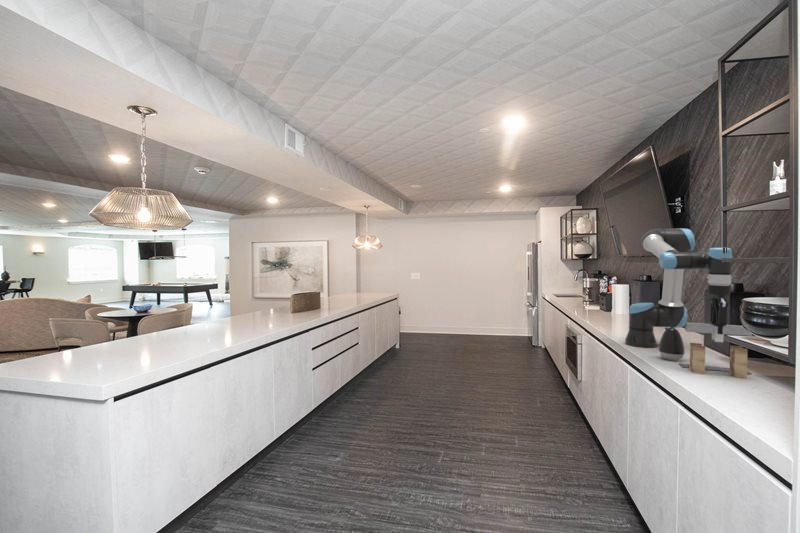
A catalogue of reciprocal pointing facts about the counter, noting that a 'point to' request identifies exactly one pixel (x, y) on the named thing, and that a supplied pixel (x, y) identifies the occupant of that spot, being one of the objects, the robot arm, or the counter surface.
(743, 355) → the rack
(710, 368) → the mat
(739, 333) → the rail
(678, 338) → the black tapered rounded piece
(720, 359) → the counter surface
